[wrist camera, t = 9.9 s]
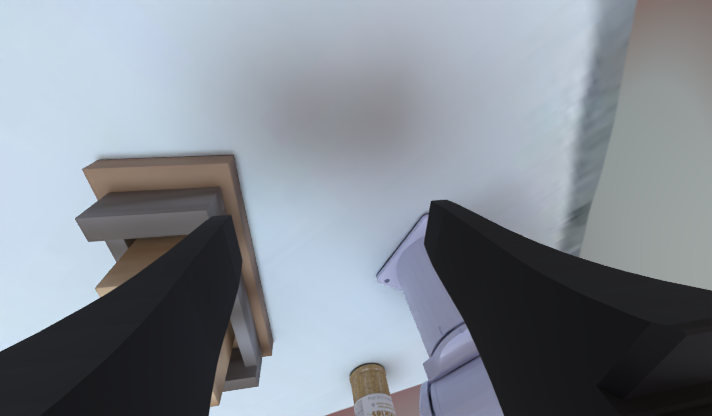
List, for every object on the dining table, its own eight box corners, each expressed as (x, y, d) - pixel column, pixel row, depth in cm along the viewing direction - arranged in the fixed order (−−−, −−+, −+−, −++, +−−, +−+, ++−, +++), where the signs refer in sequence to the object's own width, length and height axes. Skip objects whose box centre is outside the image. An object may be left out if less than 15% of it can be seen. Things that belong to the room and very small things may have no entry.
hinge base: (98, 159, 17) (40, 192, 14) (233, 154, 19) (215, 184, 15) (189, 352, 28) (171, 402, 24) (273, 341, 29) (268, 387, 25)
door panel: (152, 220, 18) (94, 288, 13) (201, 217, 19) (163, 281, 14) (203, 343, 25) (178, 420, 20) (238, 338, 25) (222, 413, 20)
